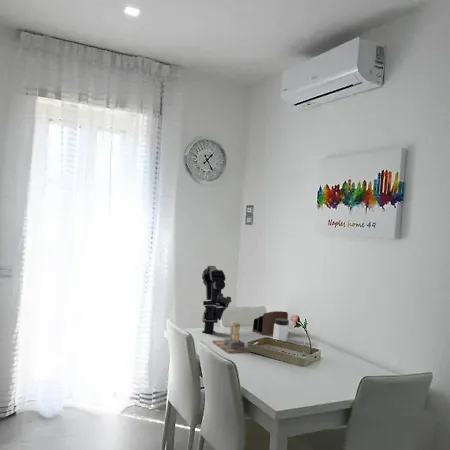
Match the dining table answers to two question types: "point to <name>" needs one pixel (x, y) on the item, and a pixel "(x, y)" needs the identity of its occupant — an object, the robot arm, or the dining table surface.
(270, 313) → the letter holder
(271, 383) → the dining table surface
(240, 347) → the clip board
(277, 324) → the jar
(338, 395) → the dining table surface
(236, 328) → the tan wooden block
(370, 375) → the dining table surface
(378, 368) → the dining table surface
